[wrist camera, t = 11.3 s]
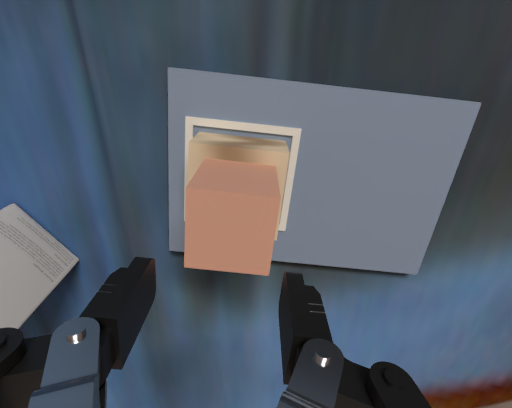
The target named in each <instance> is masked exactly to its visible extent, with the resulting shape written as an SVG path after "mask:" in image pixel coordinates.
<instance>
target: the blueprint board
mask: <svg viewBox="0 0 512 408" xmlns="http://www.w3.org/2000/svg"><path fill="white" fill-rule="evenodd" d="M480 106H481V103H479V102H472V101H464V100H455V99H446V98H437V97H428V96H420V95H411V94H402V93H393V92H384V91H376V90H367V89H358V88H349V87H340V86H331V85H323V84H314V83H305V82H296V81H287V80H278V79H270V78H261V77H252V76H243V75H234V74H225V73H217V72H208V71H199V70H190V69H181V68H172V67H168V160H169V251H179V252H184V249H185V201H186V187H187V185H188V150H189V141H190V140H191V139H192V138H193V137H194V136H195V135H196V134H197V133H198V132H207V133H217V134H226V135H235V136H245V137H254V138H263V139H272V140H282V141H286V144H287V146H288V149H289V152H290V155H289V162H288V168H287V175H286V182H285V188H284V195H283V201H282V208H281V215H280V221H279V228H278V235H277V241H276V240H274V245H273V252H272V259H271V260H272V261H282V262H292V263H303V264H313V265H323V266H334V267H344V268H354V269H365V270H375V271H385V272H396V273H406V274H416V275H417V273H418V271H419V268H420V265H421V263H422V260H423V258H424V255H425V252H426V250H427V247H428V244H429V242H430V239H431V236H432V234H433V231H434V228H435V226H436V223H437V220H438V218H439V215H440V212H441V210H442V207H443V204H444V202H445V199H446V196H447V194H448V191H449V188H450V186H451V183H452V180H453V178H454V175H455V172H456V170H457V167H458V164H459V162H460V159H461V156H462V154H463V151H464V148H465V146H466V143H467V140H468V138H469V135H470V133H471V130H472V127H473V125H474V122H475V119H476V117H477V114H478V111H479V109H480Z"/></svg>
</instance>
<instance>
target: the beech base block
mask: <svg viewBox="0 0 512 408" xmlns="http://www.w3.org/2000/svg"><path fill="white" fill-rule="evenodd" d="M289 155H290V152H289V149H288V146H287V144H286V141H282V140H272V139H263V138H254V137H245V136H235V135H226V134H217V133H207V132H198V133H197V134H196V135H195V136H194V137H193V138H192V139H191V140H190V141H189V150H188V183H189V182H190V180H191V179H192V177H193V176H194V174H195V173H196V171H197V169H198V168H199V166H200V165H201V163H202V162H203V160H204V158H210V159H219V160H228V161H237V162H246V163H255V164H264V165H274V166H276V171H277V177H278V184H279V190H280V196H281V200H280V206H279V213H278V219H277V226H276V232H275V239H274V240H276V241H277V235H278V228H279V221H280V215H281V208H282V201H283V195H284V188H285V182H286V175H287V168H288V162H289Z"/></svg>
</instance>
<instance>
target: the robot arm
mask: <svg viewBox="0 0 512 408" xmlns="http://www.w3.org/2000/svg"><path fill="white" fill-rule="evenodd" d="M155 292H156V274H155V260H154V258H143V257H135V258H134V260H133V261H132V262H131V264H130V265H129V267H128V268H122V267H121V268H119V269H118V270H116V271H115V272H113V273H112V274H110V276H109V277H108V279H107V280H106V281H105V283H104V285H102V287H101V288H100V289H99V292H97V293H96V295H95V296H94V298H93V299H92V300H91V302H90V303H89V304H88V306H87V307H86V308H85V310H84V311H83V312H82V314H81V315H80V316H79V318H75V319H72V320H69V321H67V322H65V323H63V324H62V325H60V326H59V327H58V328H57V329H56V330H55V331H54V333H53V334H51V335H46V336H40V337H33V338H27V339H24V337H23V334H22V332H21V331H20V330H19V329H16V328H12V327H7V328H0V408H106V401H107V381H106V378H107V376H108V374H109V372H110V370H111V369H121V370H122V368H123V366H124V364H125V362H126V359H127V357H128V355H129V353H130V351H131V349H132V347H133V344H134V342H135V340H136V338H137V336H138V334H139V332H140V329H141V327H142V325H143V323H144V321H145V319H146V316H147V314H148V312H149V310H150V308H151V306H152V304H153V301H154V298H155ZM279 326H280V340H281V354H282V368H283V382H284V384H288V387H287V389H286V391H285V392H283V393H282V396H281V398H280V400H279V403H278V405H277V408H431V406H430V405H429V403H428V402H427V400H426V399H425V397H424V396H423V394H422V393H421V391H420V390H419V388H418V387H417V385H416V384H415V382H414V381H413V380H412V378H411V377H410V376H409V374H408V373H407V372H405V371H404V370H403V369H402V368H400V367H399V366H397V365H395V364H392V363H389V362H377V363H375V364H373V365H372V366H371V368H370V369H369V368H366V367H363V366H361V365H358V364H355V363H353V362H351V361H349V360H347V359H346V358H344V357H343V354H342V352H341V350H340V349H339V348H338V347H337V346H336V345H335V344H333V341H332V337H331V333H330V329H329V326H328V322H327V318H326V314H325V310H324V307H323V303H322V299H321V295H320V294H319V292H318V291H317V290H316V289H315V287H314V286H307V285H304V280H303V275H302V273H296V272H286V271H285V272H284V276H283V282H282V288H281V294H280V300H279Z"/></svg>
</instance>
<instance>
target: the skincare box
mask: <svg viewBox="0 0 512 408" xmlns="http://www.w3.org/2000/svg"><path fill="white" fill-rule="evenodd" d="M78 261H79V259H78V258H77V257H76V256H75V255H74V254H73V253H71V252H70V251H69V250H68V249H67V248H66V247H64V246H63V245H62V244H61V243H60V242H59V241H57V240H56V239H55V238H54V237H53V236H52V235H51V234H49V233H48V232H47V231H46V230H45V229H44V228H42V227H41V226H40V225H39V224H38V223H37V222H35V221H34V220H33V219H32V218H31V217H30V216H29V215H28V214H26V213H25V212H24V211H23V210H22V209H21V208H19V207H18V206H17V205H16V204H10V205H8V206H7V207H5V208H3V209H1V210H0V328H7V327H12V328H16V329H19V328H20V327H21V326H22V324H23V323H24V322H25V321H26V320H27V319H28V318H29V316H30V315H31V314H32V313H33V312H34V311H35V310H36V308H37V307H38V306H39V305H40V304H41V303H42V302H43V301H44V300H45V298H46V297H47V296H48V295H49V294H50V293H51V292H52V291H53V289H54V288H55V287H56V286H57V285H58V284H59V283H60V282H61V280H62V279H63V278H64V277H65V276H66V275H67V274H68V273H69V271H70V270H71V269H72V268H73V267H74V266H75V264H76V263H77V262H78Z"/></svg>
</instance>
